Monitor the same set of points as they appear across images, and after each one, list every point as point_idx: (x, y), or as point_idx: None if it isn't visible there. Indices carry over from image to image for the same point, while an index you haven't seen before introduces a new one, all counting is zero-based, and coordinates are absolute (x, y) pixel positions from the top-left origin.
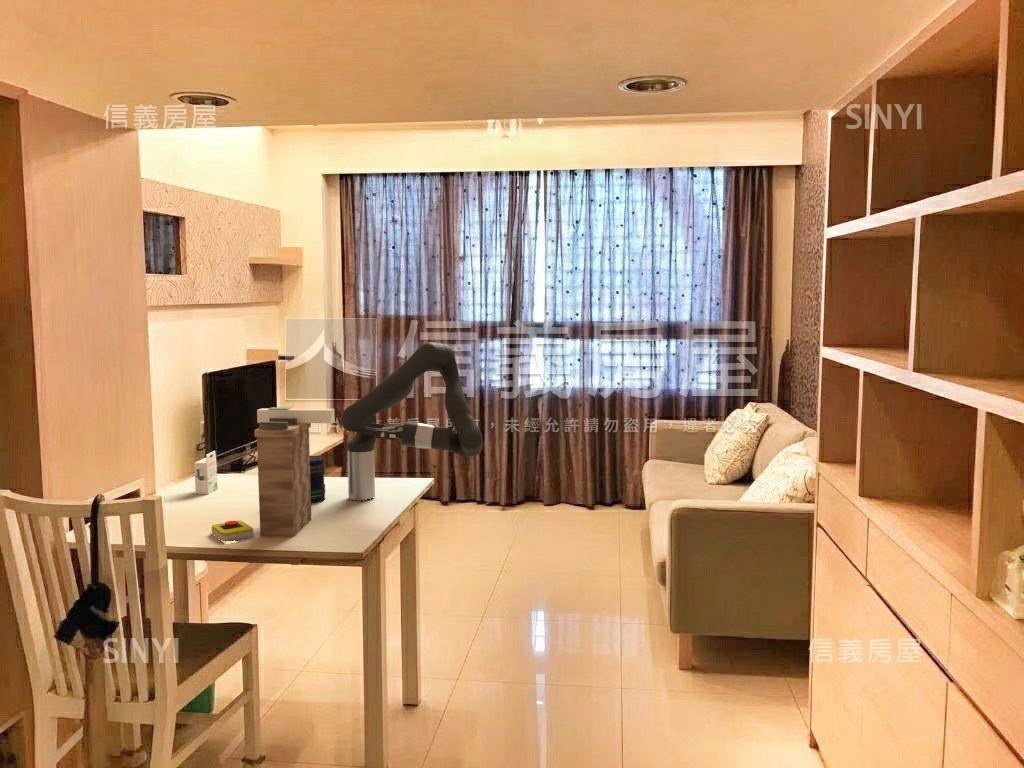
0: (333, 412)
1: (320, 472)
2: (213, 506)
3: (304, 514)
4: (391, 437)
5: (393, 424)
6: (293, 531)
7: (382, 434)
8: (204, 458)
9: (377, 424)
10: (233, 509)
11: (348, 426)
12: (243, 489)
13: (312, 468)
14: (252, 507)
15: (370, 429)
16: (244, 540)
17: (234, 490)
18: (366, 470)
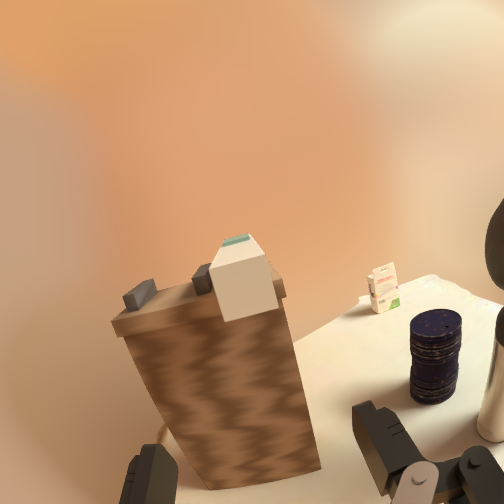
0: (254, 272)
1: (439, 359)
2: (340, 343)
3: (271, 468)
4: None
5: (500, 495)
6: (206, 485)
7: None
8: (387, 269)
9: (372, 446)
10: (337, 362)
11: (492, 274)
12: (415, 315)
13: (423, 349)
14: (356, 368)
15: (134, 483)
16: None
17: (406, 314)
18: None
